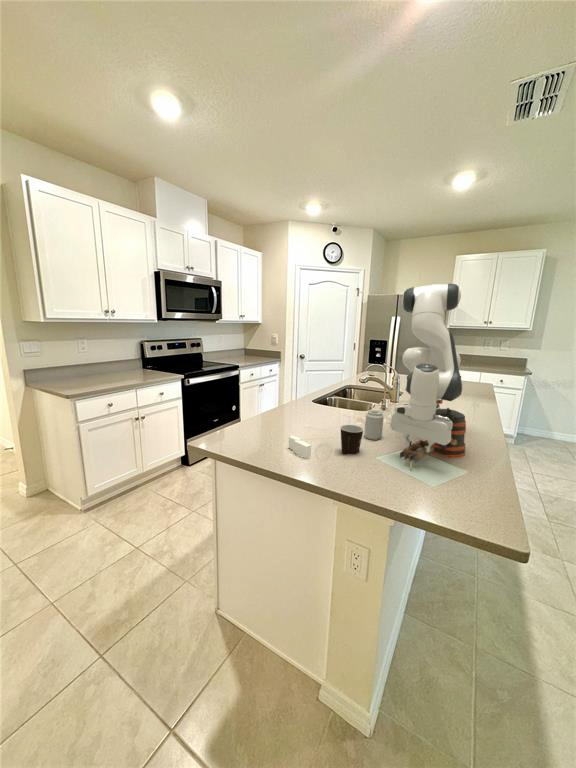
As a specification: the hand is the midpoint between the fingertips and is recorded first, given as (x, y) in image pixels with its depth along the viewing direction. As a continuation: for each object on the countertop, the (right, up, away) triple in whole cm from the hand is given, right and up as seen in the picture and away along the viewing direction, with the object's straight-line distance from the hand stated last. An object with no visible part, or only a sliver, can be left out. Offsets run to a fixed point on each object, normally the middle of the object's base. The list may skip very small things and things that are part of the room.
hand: (417, 448), depth 109 cm
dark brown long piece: (0, -2, +1) cm, 2 cm away
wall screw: (-5, -6, -5) cm, 9 cm away
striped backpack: (+15, -5, +12) cm, 20 cm away
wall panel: (+1, -6, -1) cm, 7 cm away
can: (-8, -1, +27) cm, 28 cm away
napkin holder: (-42, -4, +10) cm, 43 cm away
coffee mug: (-23, -4, +9) cm, 25 cm away
